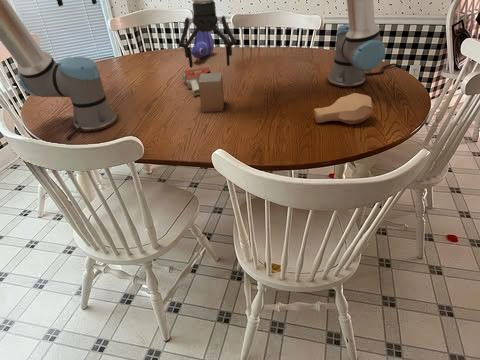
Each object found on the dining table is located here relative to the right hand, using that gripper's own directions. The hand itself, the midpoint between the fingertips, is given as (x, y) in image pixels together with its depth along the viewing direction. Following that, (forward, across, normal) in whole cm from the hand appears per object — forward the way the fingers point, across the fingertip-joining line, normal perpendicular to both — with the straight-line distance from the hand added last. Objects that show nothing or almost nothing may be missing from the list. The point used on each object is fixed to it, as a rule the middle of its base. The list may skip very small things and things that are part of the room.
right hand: (209, 65), depth 130 cm
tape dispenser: (+16, +10, -22) cm, 29 cm away
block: (+16, 0, 0) cm, 16 cm away
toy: (+16, +11, -62) cm, 65 cm away
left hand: (-18, +52, -24) cm, 60 cm away
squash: (+16, -46, +16) cm, 52 cm away
